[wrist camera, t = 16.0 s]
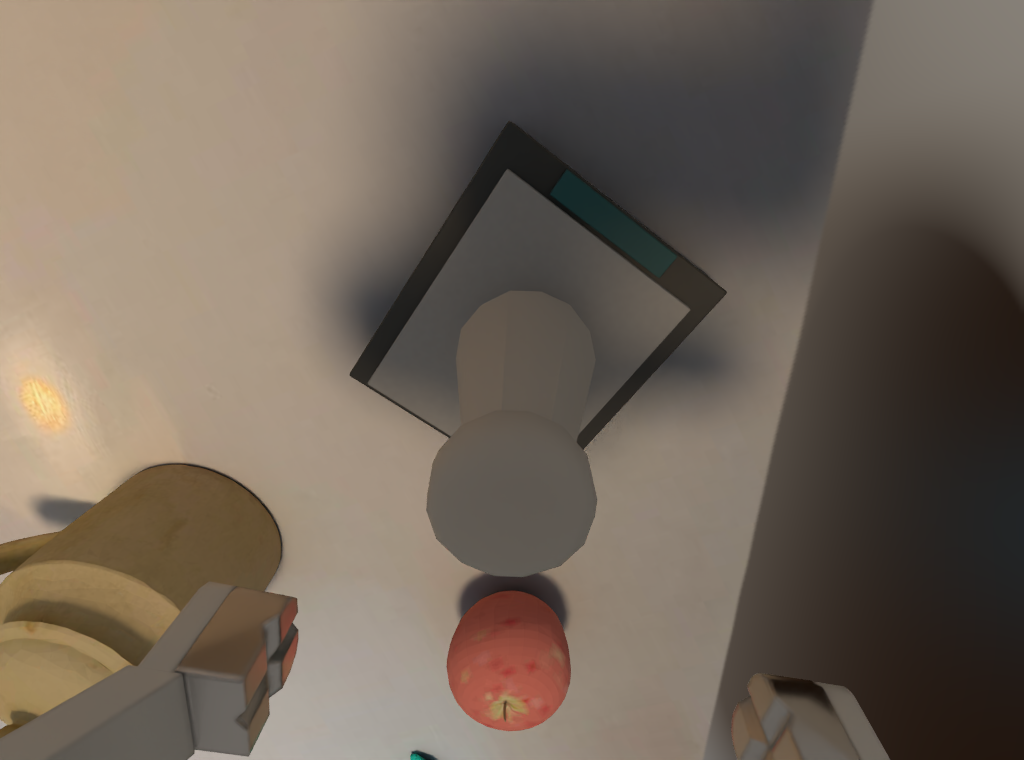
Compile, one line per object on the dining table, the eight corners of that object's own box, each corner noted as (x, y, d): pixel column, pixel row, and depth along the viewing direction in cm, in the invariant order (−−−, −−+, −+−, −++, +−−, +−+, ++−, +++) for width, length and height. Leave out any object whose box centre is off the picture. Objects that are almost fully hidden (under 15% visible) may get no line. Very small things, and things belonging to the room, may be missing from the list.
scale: (512, 122, 23) (507, 119, 20) (711, 279, 25) (732, 296, 23) (364, 357, 28) (344, 380, 25) (541, 470, 31) (540, 503, 28)
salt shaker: (478, 263, 23) (404, 390, 11) (605, 293, 23) (668, 449, 11) (455, 381, 25) (374, 591, 13) (570, 407, 25) (592, 637, 13)
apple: (451, 566, 34) (425, 680, 27) (563, 562, 33) (568, 678, 26) (466, 646, 37) (447, 768, 30) (570, 643, 36) (576, 768, 29)
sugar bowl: (127, 614, 38) (-110, 880, 24) (33, 492, 34) (-320, 730, 20) (311, 581, 35) (163, 856, 22) (234, 445, 31) (-10, 679, 17)
